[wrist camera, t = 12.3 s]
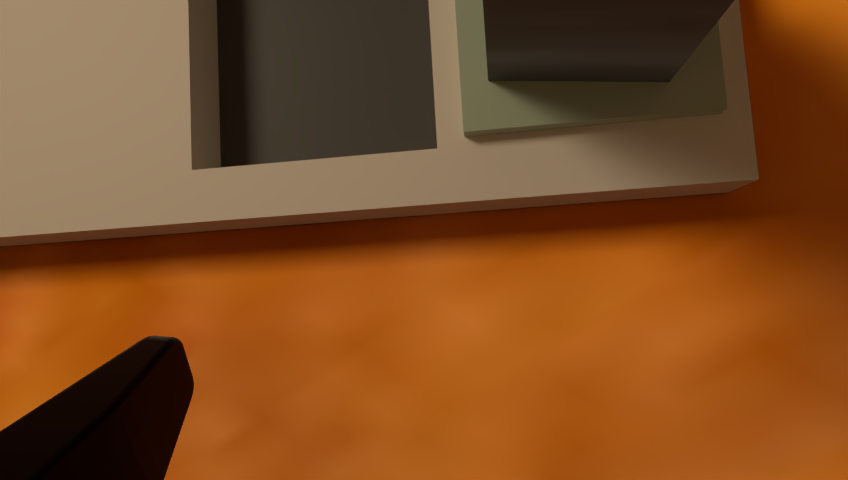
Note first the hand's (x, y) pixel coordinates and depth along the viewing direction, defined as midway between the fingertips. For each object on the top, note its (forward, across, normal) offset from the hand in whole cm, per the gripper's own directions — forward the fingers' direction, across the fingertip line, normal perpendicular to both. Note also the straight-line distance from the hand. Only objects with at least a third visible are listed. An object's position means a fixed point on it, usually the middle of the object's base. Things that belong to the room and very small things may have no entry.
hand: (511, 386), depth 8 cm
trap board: (+12, +10, 0) cm, 16 cm away
